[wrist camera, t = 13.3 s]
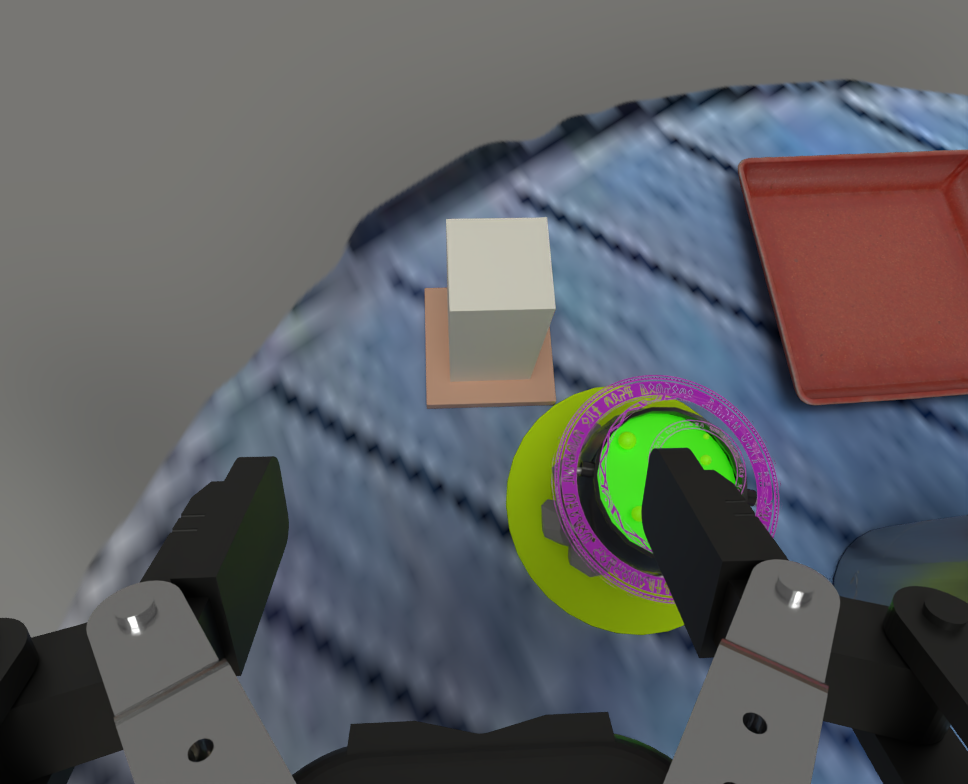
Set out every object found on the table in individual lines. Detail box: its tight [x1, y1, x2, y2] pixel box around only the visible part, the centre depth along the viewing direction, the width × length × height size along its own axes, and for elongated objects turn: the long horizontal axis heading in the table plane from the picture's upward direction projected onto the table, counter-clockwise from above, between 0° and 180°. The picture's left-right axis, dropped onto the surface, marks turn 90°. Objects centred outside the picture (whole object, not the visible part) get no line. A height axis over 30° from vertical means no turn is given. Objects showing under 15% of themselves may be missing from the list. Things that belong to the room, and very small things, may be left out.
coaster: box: [425, 288, 556, 409], centre depth 39 cm, size 8×8×1 cm
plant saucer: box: [738, 150, 968, 405], centre depth 41 cm, size 18×18×3 cm
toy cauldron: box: [506, 375, 781, 635], centre depth 32 cm, size 15×15×11 cm
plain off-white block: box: [446, 218, 556, 382], centre depth 34 cm, size 5×5×10 cm
